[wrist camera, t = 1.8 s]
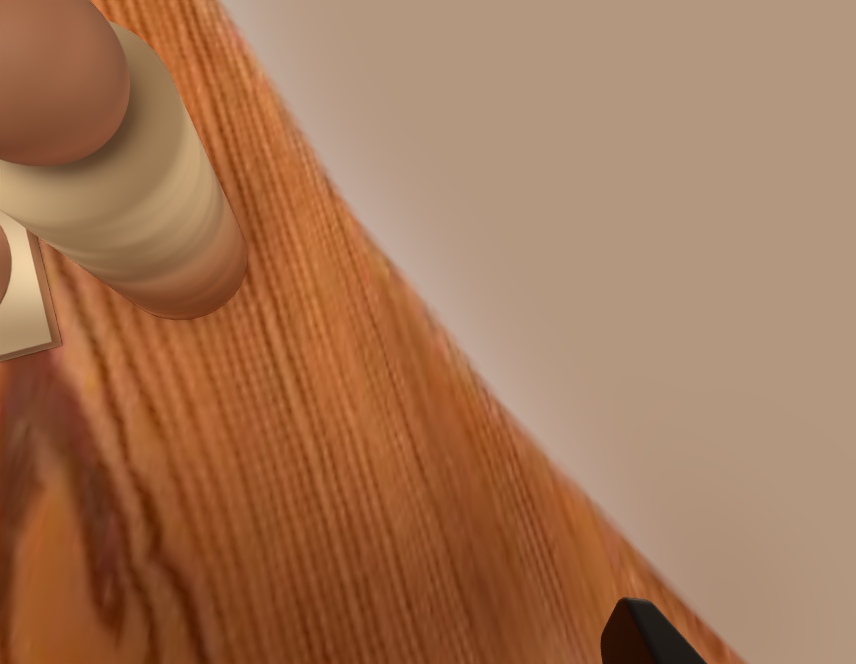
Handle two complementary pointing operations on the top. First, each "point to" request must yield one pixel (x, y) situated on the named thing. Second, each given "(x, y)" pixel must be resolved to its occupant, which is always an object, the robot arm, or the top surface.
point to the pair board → (23, 294)
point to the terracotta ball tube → (111, 161)
